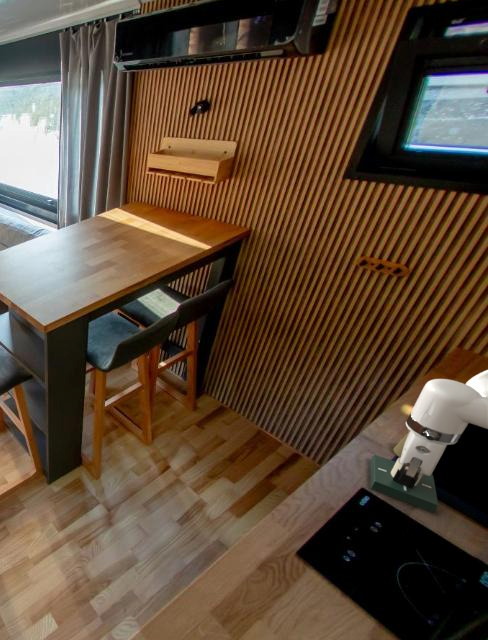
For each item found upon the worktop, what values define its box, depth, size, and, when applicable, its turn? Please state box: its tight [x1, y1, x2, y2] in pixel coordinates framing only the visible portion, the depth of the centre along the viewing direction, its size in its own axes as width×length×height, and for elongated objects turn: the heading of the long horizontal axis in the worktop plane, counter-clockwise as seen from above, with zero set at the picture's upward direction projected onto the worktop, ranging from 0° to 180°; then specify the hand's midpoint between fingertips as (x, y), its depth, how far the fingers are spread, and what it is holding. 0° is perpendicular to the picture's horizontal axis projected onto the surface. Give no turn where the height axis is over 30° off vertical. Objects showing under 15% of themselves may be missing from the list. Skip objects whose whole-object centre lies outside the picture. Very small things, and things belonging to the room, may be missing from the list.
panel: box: [369, 454, 439, 513], centre depth 92 cm, size 10×10×3 cm
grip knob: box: [391, 457, 423, 486], centre depth 90 cm, size 4×4×5 cm
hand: (404, 477), depth 91 cm, fingers closed on grip knob, 4 cm apart
